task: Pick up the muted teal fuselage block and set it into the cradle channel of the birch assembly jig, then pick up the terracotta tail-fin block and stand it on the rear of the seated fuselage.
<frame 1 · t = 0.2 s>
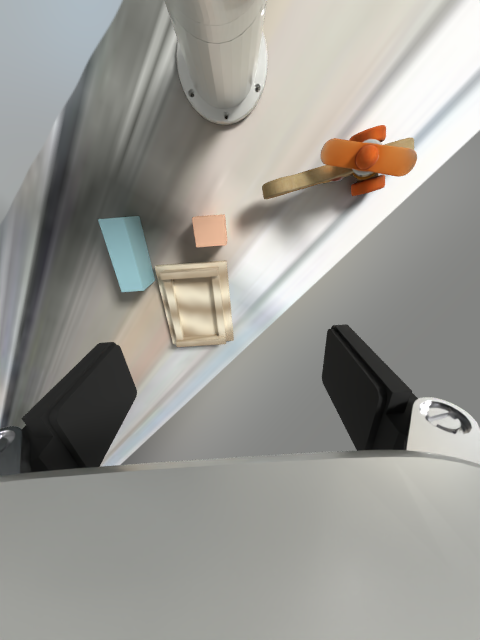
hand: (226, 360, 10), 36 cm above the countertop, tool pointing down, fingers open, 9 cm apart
jig: (198, 304, 48), on the countertop
fuselage: (137, 250, 43), on the countertop
toy helicopter: (323, 176, 38), on the countertop
tail fin: (212, 228, 41), on the countertop
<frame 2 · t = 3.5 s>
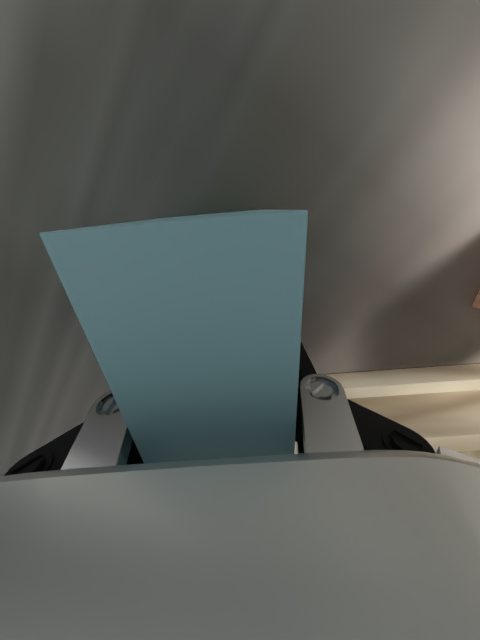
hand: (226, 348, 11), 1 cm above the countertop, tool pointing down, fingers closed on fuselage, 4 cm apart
jig: (373, 461, 17), on the countertop
fuselage: (227, 338, 12), on the countertop, touching gripper
when the fingers open (3 cm above the countertop, at t = 7.6 s): fuselage drops 1 cm, resting on jig.
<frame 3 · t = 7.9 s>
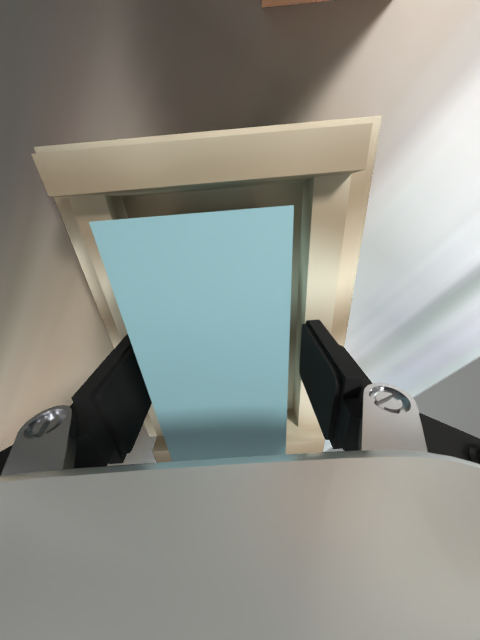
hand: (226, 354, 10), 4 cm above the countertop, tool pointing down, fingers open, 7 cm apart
jig: (228, 319, 14), on the countertop
fuselage: (228, 326, 13), point 1 cm above the countertop, touching jig
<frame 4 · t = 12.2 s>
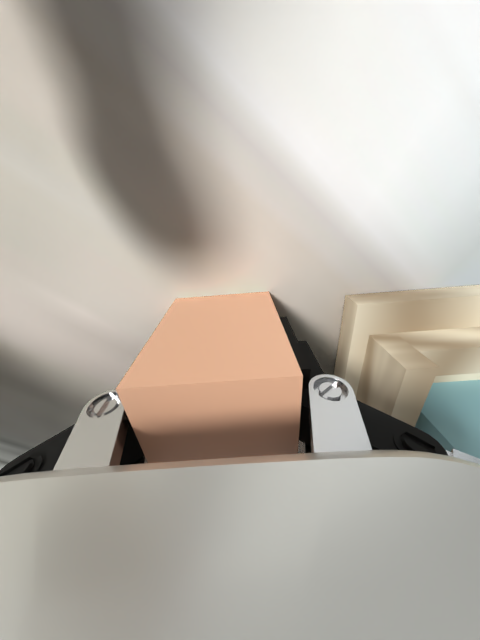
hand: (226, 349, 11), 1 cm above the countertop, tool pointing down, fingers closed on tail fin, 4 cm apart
jig: (475, 389, 14), on the countertop
tail fin: (227, 339, 12), on the countertop, touching gripper
when the fingers open (9 cm above the countertop, at t = 15.5 s): tail fin stays where it is, resting on fuselage.
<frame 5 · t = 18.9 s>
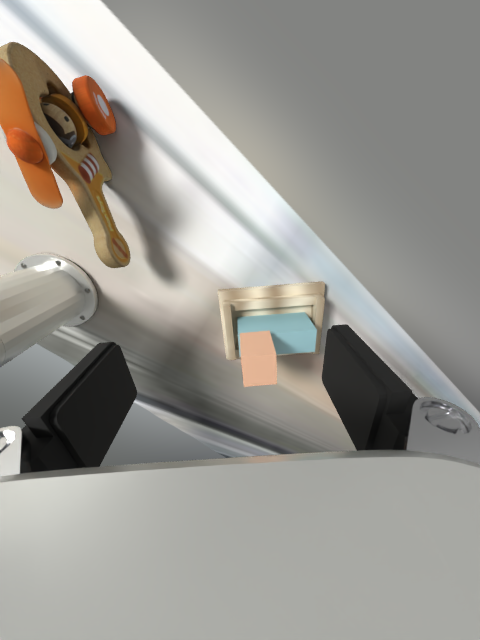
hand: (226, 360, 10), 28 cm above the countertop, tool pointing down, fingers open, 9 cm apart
jig: (270, 321, 41), on the countertop
fuselage: (271, 324, 40), point 1 cm above the countertop, touching jig, tail fin
toy helicopter: (106, 176, 31), on the countertop
tail fin: (255, 345, 34), point 8 cm above the countertop, touching fuselage
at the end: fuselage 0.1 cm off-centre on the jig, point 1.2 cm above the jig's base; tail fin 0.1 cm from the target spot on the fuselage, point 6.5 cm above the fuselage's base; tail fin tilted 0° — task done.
